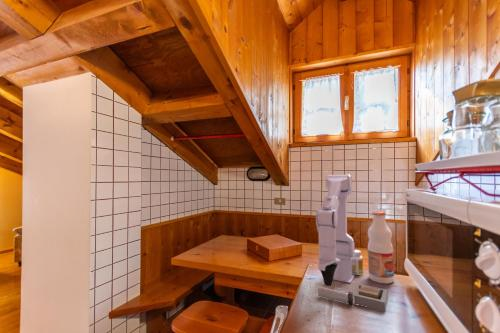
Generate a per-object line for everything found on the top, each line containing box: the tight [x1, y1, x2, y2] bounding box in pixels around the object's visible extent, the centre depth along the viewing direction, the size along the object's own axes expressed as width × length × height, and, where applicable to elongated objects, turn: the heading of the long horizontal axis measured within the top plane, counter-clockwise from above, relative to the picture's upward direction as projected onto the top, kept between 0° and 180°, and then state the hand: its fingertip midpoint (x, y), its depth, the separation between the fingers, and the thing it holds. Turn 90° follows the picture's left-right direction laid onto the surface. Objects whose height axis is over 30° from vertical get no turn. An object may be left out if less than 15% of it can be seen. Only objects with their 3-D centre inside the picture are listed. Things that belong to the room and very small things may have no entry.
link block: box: [358, 285, 381, 300], centre depth 87 cm, size 5×6×4 cm
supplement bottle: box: [351, 249, 364, 276], centre depth 112 cm, size 5×5×10 cm
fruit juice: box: [367, 210, 395, 284], centre depth 105 cm, size 9×9×28 cm
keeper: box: [317, 286, 354, 307], centre depth 87 cm, size 12×1×4 cm, turn 57°
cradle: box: [353, 283, 389, 313], centre depth 87 cm, size 10×9×3 cm
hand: (328, 285), depth 86 cm, fingers closed
